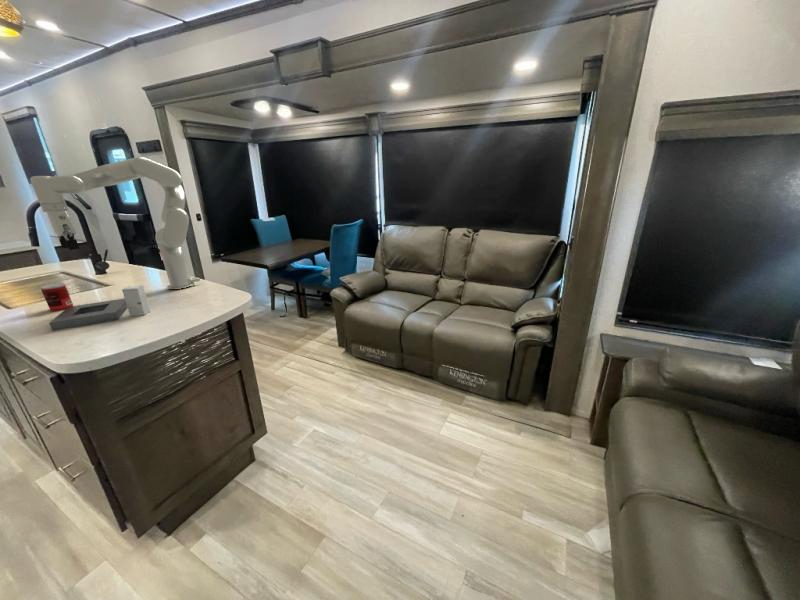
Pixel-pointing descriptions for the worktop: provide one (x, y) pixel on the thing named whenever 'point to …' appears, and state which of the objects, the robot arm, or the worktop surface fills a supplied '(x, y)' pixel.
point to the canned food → (57, 296)
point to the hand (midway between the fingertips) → (71, 248)
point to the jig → (89, 314)
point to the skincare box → (136, 300)
